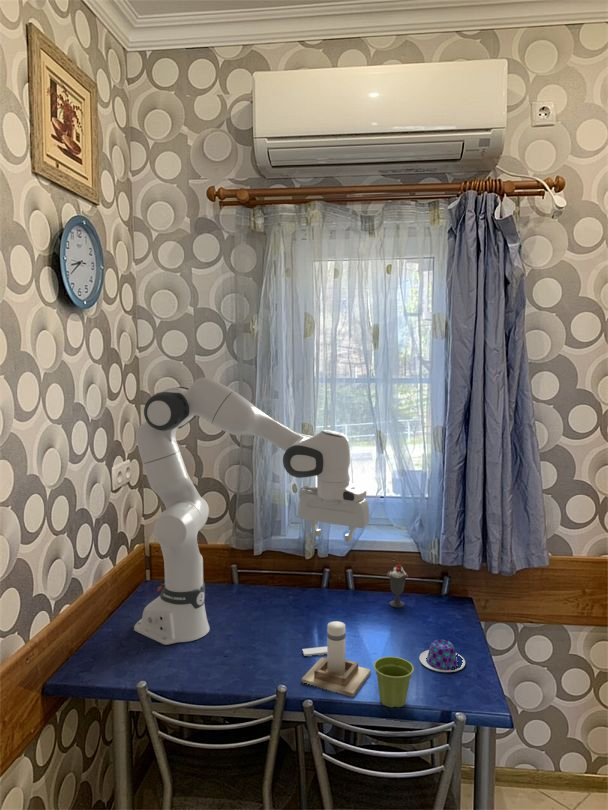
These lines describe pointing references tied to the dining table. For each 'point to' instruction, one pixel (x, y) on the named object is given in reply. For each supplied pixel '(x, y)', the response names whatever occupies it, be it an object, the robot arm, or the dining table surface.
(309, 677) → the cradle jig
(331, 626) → the grooved cream capsule
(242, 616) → the dining table surface
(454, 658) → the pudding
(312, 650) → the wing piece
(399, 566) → the sundae
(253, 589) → the dining table surface
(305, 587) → the dining table surface
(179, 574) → the robot arm
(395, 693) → the plant pot
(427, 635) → the dining table surface
